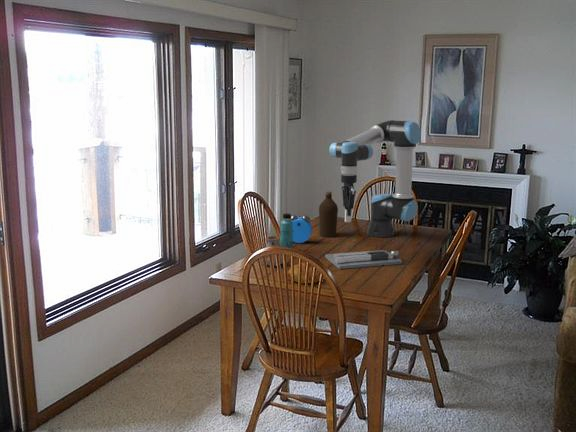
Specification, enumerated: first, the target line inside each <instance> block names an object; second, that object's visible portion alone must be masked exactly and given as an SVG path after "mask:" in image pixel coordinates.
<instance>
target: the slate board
mask: <svg viewBox="0 0 576 432" xmlns="http://www.w3.org/2000/svg"><path fill="white" fill-rule="evenodd" d="M379 251H386V252H388V253H390V252H389V251H387V250H386V249H380V250H366V251H365V250H364V251H354V252H351V251H350V252H342V253H341V252H340V253H338V252H337V253H336V254H352V253H367V252H379ZM334 254H335V253H327V254H325V255H324V258H325V259H327V260H328V261H329V262H330V263H332V265H334V267H336V268H338V270H346V269H357V268H368V267H382V265H384V266H393V265H394V266H395V264H396V265H403V260H401V259H400V258H399V257H398V258H393V259H383V260H368V261H355V262H345V263H336V262H335V260H334Z"/></svg>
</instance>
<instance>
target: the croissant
mask: <svg viewBox="0 0 576 432" xmlns="http://www.w3.org/2000/svg"><path fill="white" fill-rule="evenodd" d="M305 263H306V262H302V263H301V264H302V284H301V285H305V284H304V280H305ZM298 264H299V263H297V264H295V265H293V266H294V280H295V282H294V283H297V281H298ZM311 276H312V267H310V268H309V278H308V279H309V282H310V281H311ZM288 277H289V278H288ZM287 278H288V279H289V281H291V267H290V268H289V270H288V271H287ZM318 282H320V281H319V276H318V273H317V272H316V273H315V283H314V284H316V283H318Z"/></svg>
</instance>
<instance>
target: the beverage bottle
mask: <svg viewBox="0 0 576 432" xmlns="http://www.w3.org/2000/svg"><path fill="white" fill-rule="evenodd" d="M291 215H292V214H291V213H286V212H285V213H283V214H282V220H281V222H280V236H279V237H280V239H279V244H280V246H282V247H288V248H292V249H293V244H294V242H293V222H292V221H291V220H289V219H290V218H291Z"/></svg>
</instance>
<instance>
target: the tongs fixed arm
mask: <svg viewBox="0 0 576 432" xmlns="http://www.w3.org/2000/svg"><path fill="white" fill-rule="evenodd" d="M393 258H398V259H399V251H398V250H396V249H395V250H391V251H390V252H389V253H378V254H367V255H354V256H341V257H335V262H336V263H345V262H355V261H368V260H383V259H393Z"/></svg>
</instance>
